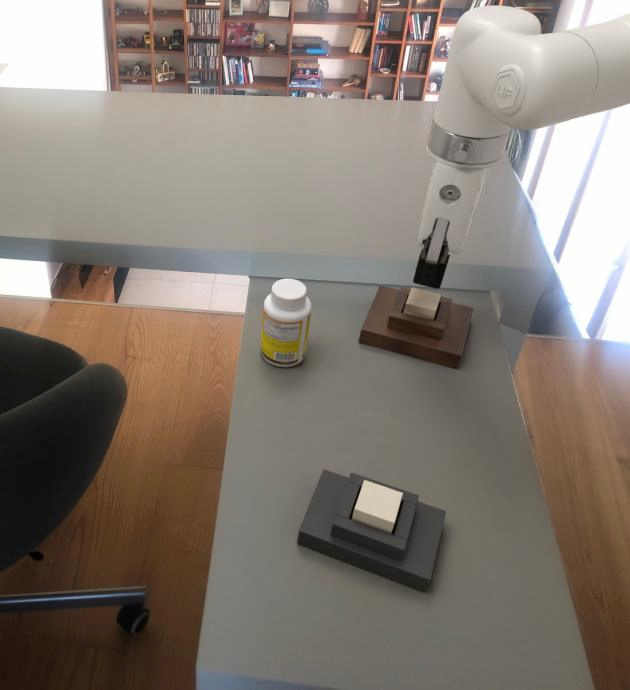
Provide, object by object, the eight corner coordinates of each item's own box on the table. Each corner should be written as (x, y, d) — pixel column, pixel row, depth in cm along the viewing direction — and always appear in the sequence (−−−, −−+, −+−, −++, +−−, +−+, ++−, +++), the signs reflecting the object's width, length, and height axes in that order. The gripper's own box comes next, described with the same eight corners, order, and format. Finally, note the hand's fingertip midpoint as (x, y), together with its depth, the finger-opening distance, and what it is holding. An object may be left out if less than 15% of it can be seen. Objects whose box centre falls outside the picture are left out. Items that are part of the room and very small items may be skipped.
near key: (399, 503, 65) (403, 492, 64) (391, 534, 62) (394, 523, 61) (361, 490, 66) (364, 479, 65) (351, 520, 64) (354, 508, 63)
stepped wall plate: (441, 523, 67) (450, 499, 65) (425, 593, 62) (435, 569, 59) (320, 482, 71) (325, 457, 69) (296, 543, 66) (300, 519, 63)
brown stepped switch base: (469, 321, 90) (477, 296, 87) (457, 369, 83) (465, 344, 81) (377, 298, 94) (382, 274, 91) (358, 342, 87) (363, 317, 85)
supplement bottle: (284, 333, 89) (291, 268, 82) (314, 357, 86) (324, 291, 79) (250, 350, 87) (255, 285, 80) (280, 375, 83) (287, 309, 76)
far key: (438, 305, 87) (441, 294, 86) (432, 321, 85) (436, 310, 83) (409, 298, 88) (411, 287, 87) (403, 314, 86) (405, 303, 85)
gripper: (496, 179, 65) (448, 327, 77) (513, 117, 75) (468, 257, 87) (415, 164, 68) (381, 310, 80) (442, 106, 78) (408, 244, 90)
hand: (427, 282), depth 84 cm, fingers closed
